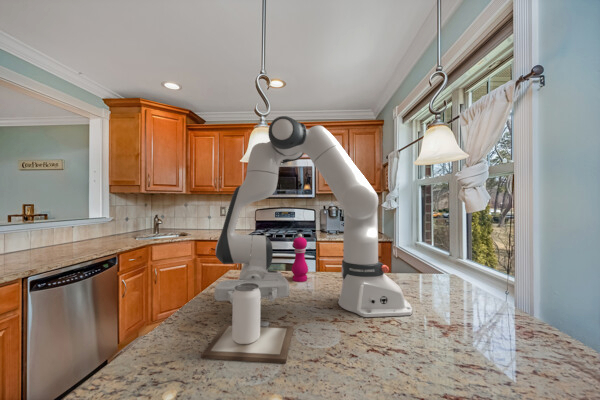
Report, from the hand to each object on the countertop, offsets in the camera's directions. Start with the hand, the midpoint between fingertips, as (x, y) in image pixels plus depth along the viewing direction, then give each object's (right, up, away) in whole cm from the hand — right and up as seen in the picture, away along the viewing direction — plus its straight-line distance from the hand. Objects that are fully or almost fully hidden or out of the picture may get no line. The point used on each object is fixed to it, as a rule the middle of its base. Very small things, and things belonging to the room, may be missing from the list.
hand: (252, 299), depth 63 cm
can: (-1, -8, -4) cm, 9 cm away
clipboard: (+1, -8, -4) cm, 9 cm away
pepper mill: (+12, -10, +45) cm, 48 cm away
